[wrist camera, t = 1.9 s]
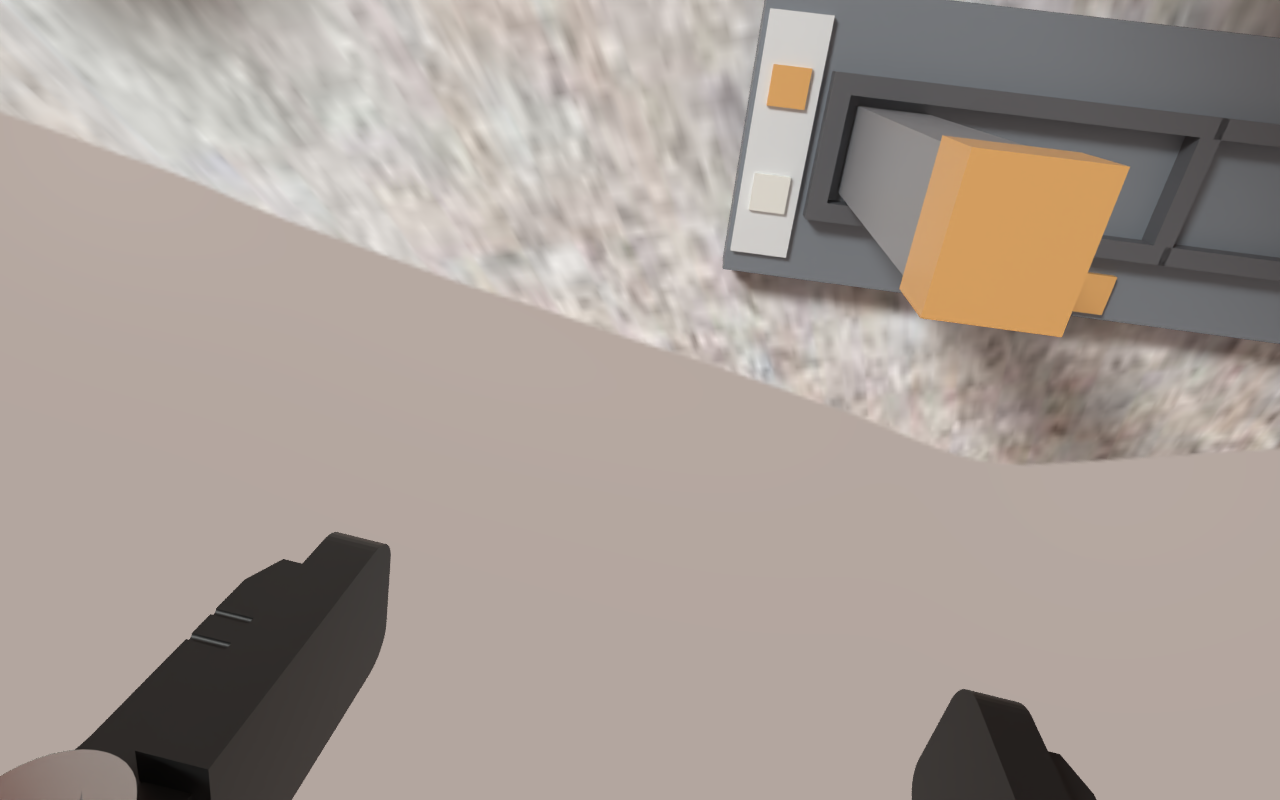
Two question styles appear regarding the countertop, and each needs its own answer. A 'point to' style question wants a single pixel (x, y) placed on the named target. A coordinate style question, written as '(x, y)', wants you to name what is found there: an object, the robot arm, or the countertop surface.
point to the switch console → (1032, 116)
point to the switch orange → (978, 218)
